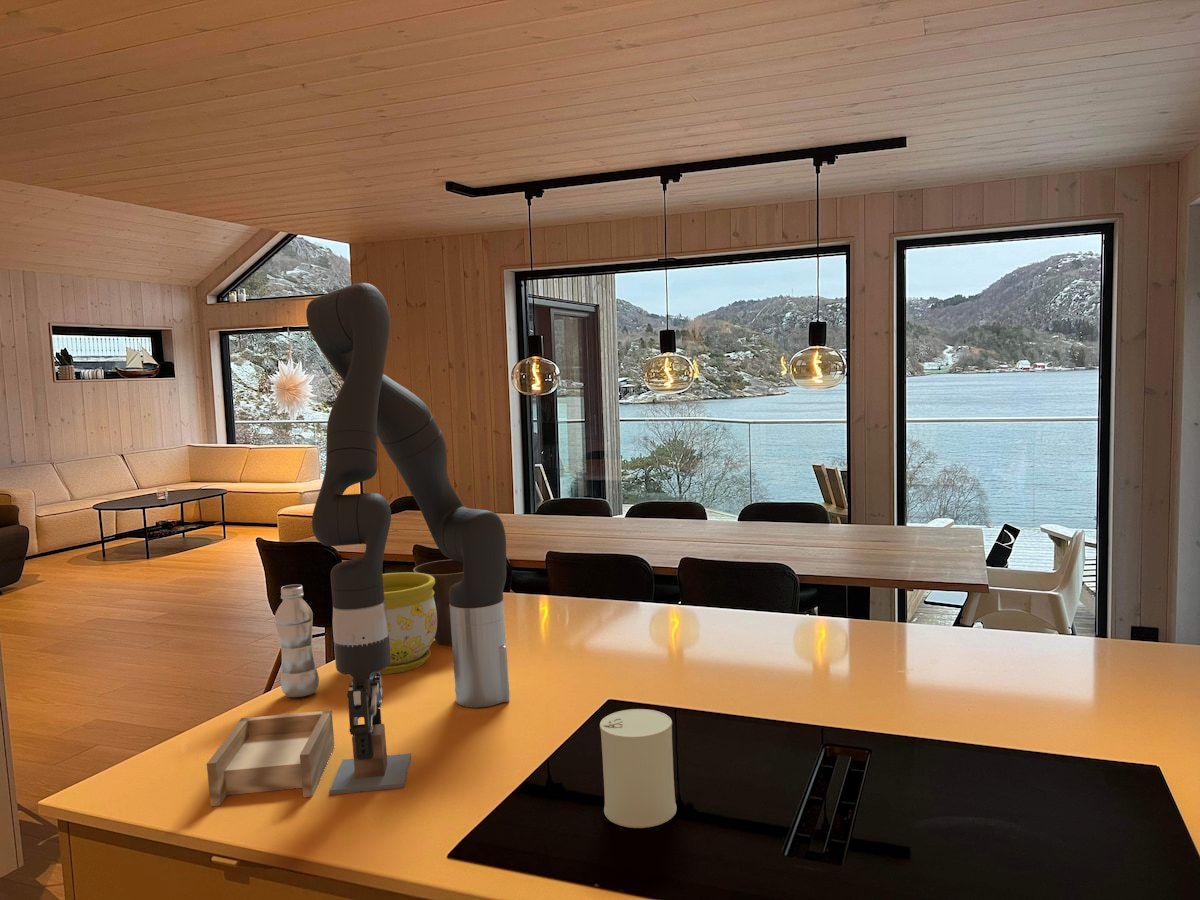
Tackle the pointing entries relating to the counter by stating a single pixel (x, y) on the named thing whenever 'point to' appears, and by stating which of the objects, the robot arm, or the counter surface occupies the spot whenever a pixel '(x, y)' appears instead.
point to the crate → (272, 755)
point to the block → (379, 759)
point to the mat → (390, 780)
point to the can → (638, 768)
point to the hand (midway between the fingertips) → (370, 746)
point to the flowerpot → (409, 619)
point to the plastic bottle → (296, 643)
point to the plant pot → (442, 593)
